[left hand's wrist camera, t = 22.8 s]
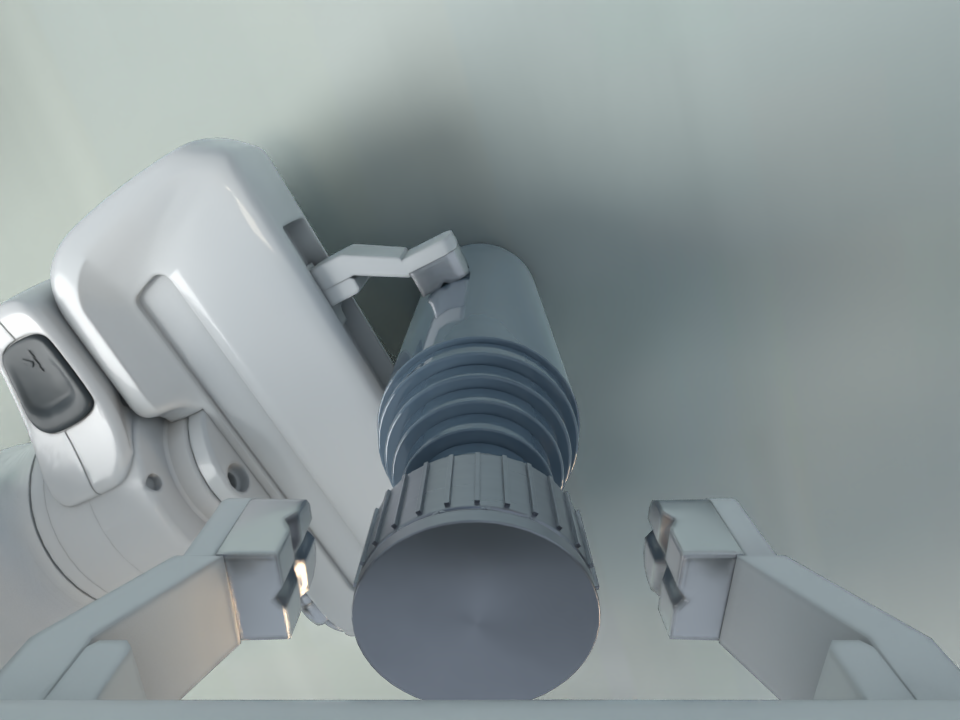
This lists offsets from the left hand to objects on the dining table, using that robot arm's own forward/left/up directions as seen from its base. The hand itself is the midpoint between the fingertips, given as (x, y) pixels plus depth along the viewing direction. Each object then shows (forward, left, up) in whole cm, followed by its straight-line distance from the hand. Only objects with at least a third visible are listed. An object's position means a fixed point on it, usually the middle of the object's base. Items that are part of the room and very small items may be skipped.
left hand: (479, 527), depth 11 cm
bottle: (0, 0, -16) cm, 16 cm away
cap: (0, 0, +2) cm, 2 cm away
